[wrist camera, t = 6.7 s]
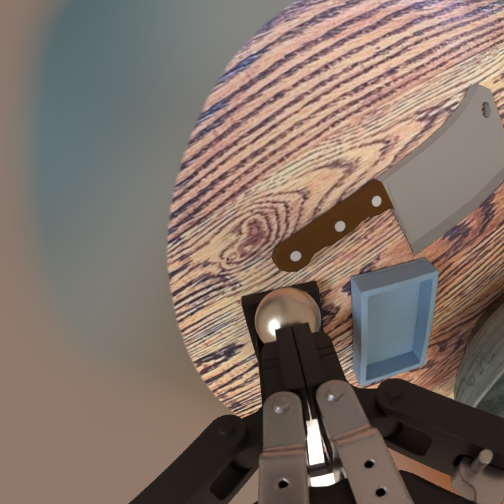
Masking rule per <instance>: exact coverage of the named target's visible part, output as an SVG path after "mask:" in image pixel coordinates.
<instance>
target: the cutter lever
mask: <svg viewBox="0 0 504 504" xmlns="http://www.w3.org/2000/svg"><path fill="white" fill-rule="evenodd" d="M305 322H308V323H309V326H310V329H311V332H312V333H313V332H317V331H319V329H320V325H321V314H320V310H319V307H318V305H317V303H316V302H315V300H314V299H313V298H312V297H311V296H310V295H309V294H307V293H306V292H304V291H302V290H300V289H297V288H291V287H285V288H280V289H277V290H274V291H272V292H271V293H269V294H268V295H266V296H265V297H264V298H263V300H262V301H261V302H260V304H259V306H258V308H257V310H256V314H255V327H256V331H257V333H258V335H259V337H260V339H261V340H262V341H263V343H267V342H272V341H276V335H275V329H278V328H283V327H288V326H291V329H292V325H296V324H301V323H305ZM292 333H293V329H292ZM293 337H294V335H293ZM294 341H295V340H294ZM307 401H308V400H307ZM308 408H309V405H308ZM309 414H310V421H306V422H307V429H308V436H307V439H308V449H309V459H310V470H311V479H312V486H329V485H331V484H333V483H335V481H334V476H333V472H332V468H331V465H330V462H329V459H328V456H327V453H326V452H325V453H324V447H323V442H322V439H321V436H320V429H319V424H318V420H317V419H314V420H312V418H311V413H310V409H309Z"/></svg>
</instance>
